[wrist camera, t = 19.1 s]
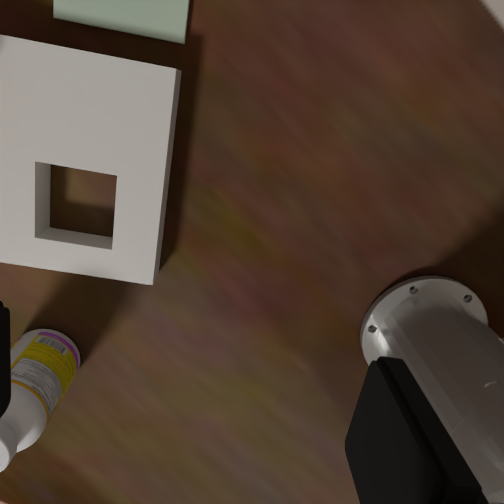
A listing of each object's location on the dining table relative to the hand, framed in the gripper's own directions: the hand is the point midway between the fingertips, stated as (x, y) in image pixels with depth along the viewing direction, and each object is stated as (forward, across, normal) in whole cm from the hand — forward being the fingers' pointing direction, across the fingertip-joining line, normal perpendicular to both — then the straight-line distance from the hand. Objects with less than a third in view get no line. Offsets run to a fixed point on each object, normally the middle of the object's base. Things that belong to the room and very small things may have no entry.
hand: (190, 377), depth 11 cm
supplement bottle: (+28, +15, +21) cm, 38 cm away
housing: (+28, +15, +1) cm, 32 cm away
